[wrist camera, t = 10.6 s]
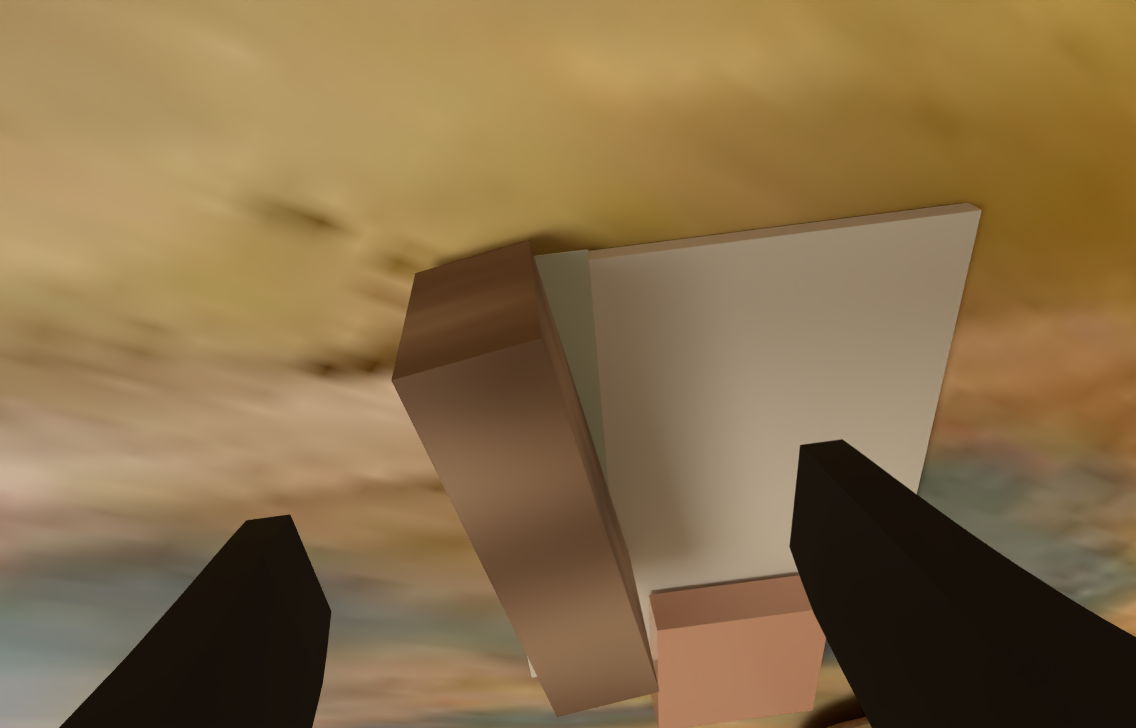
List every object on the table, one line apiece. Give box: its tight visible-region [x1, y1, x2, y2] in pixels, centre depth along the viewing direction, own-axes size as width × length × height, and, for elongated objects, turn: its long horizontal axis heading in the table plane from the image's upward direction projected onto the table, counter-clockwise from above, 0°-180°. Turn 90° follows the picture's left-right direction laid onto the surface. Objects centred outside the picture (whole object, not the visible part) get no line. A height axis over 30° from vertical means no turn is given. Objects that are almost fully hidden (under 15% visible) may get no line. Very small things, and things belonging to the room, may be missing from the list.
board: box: [528, 203, 982, 677], centre depth 23 cm, size 14×17×1 cm
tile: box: [649, 575, 826, 728], centre depth 26 cm, size 6×2×6 cm
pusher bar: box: [392, 240, 660, 717], centre depth 19 cm, size 12×3×5 cm, turn 15°
